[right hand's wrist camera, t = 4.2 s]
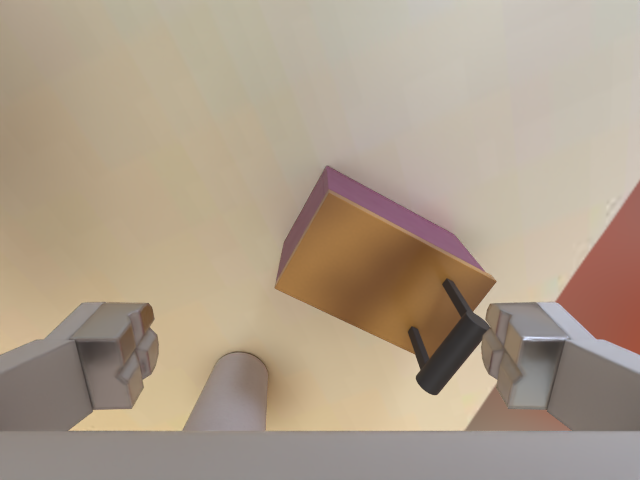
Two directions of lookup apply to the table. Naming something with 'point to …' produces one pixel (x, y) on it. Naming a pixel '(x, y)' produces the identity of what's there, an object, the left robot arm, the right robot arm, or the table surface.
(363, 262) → the lid
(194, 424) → the coffee cup
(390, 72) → the table surface
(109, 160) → the table surface
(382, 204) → the chest
